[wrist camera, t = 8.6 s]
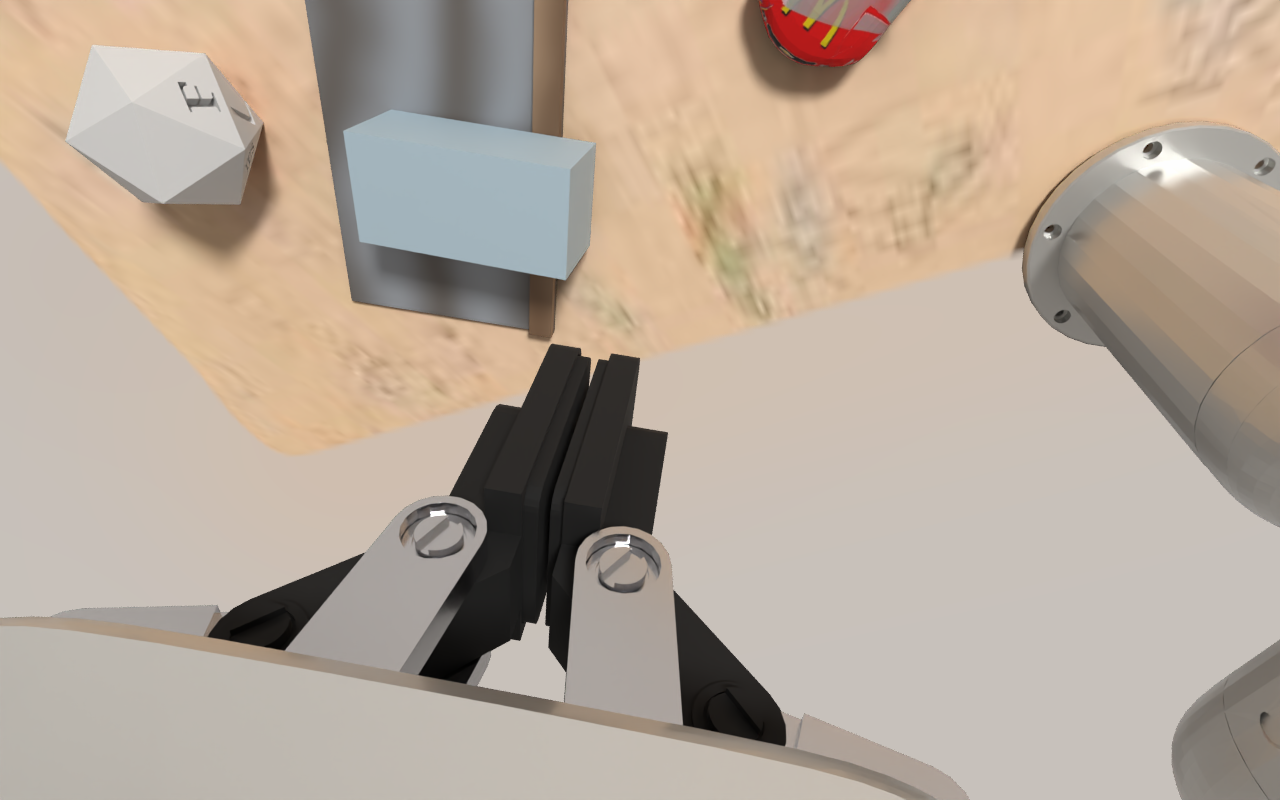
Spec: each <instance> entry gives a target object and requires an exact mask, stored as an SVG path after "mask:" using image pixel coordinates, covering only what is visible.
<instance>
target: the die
mask: <svg viewBox="0 0 1280 800" xmlns="http://www.w3.org/2000/svg"><path fill="white" fill-rule="evenodd" d="M263 123H264V122H263V121H262V120H261V119H260V118H259V117H258V115H257V114H256V113H255V112H254V111H253V110H252V108H251V107H250V106H249V105H248V104H247V102H245V101H244V100H243V98H242V97H241V95H240V94H239V93H238V92H237V91H236V89H235V88H234V87H233V86H232V85H231V84H230V82H229V81H228V80H227V79H226V78H225V76H224V75H223V74H222V73H221V72H220V71H219V69H218V68H217V67H216V66H215V65H214V63H213V62H212V61H211V60H210V59H209V58H208V56H207V55H206V54H205V53H193V52H180V51H166V50H153V49H140V48H126V47H113V46H100V45H92V47H91V51H90V54H89V58H88V62H87V65H86V69H85V72H84V76H83V80H82V83H81V87H80V90H79V94H78V98H77V101H76V105H75V108H74V112H73V116H72V119H71V123H70V126H69V130H68V134H67V137H66V141H65V142H67V143H68V144H69V145H70V146H72V147H73V148H74V149H76V150H77V151H78V152H79V153H81V154H82V155H83V156H85V157H86V158H87V159H88V160H90V161H91V162H92V163H93V164H95V165H96V166H97V167H99V168H100V169H101V170H102V171H104V172H105V173H106V174H107V175H109V176H110V177H111V178H113V179H114V180H115V181H116V182H118V183H119V184H120V185H121V186H123V187H124V188H125V189H127V190H128V191H129V192H130V193H132V194H133V195H134V196H136V197H137V198H138V199H139V200H141V201H142V202H148V203H160V204H236V205H240V204H241V201H242V197H243V194H244V190H245V187H246V183H247V179H248V176H249V172H250V169H251V165H252V162H253V158H254V155H255V151H256V147H257V144H258V140H259V137H260V133H261V130H262V126H263Z"/></svg>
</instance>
